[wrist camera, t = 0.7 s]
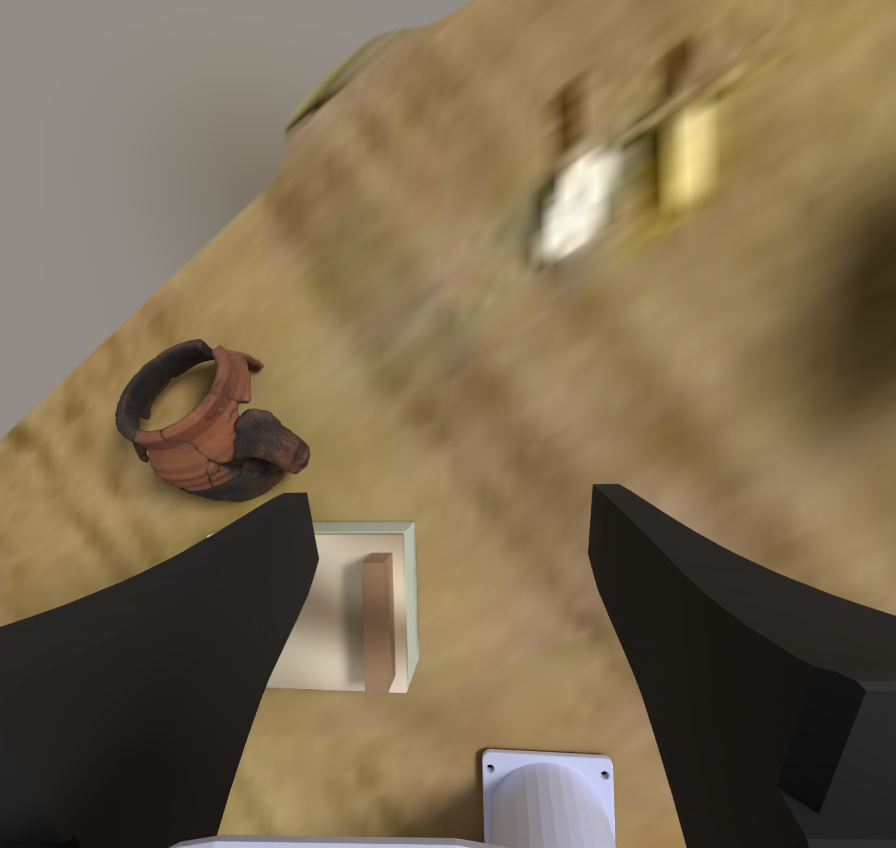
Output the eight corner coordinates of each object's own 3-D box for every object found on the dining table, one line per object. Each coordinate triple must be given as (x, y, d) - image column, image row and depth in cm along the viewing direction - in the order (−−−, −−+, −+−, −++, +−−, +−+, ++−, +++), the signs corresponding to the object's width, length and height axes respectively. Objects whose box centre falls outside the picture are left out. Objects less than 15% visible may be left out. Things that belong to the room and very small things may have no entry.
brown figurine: (177, 497, 33) (68, 445, 26) (243, 388, 36) (163, 317, 30) (313, 538, 28) (225, 489, 21) (371, 409, 32) (313, 332, 25)
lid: (408, 686, 27) (398, 714, 24) (216, 679, 28) (188, 705, 25) (404, 532, 27) (394, 544, 24) (213, 532, 28) (184, 543, 25)
